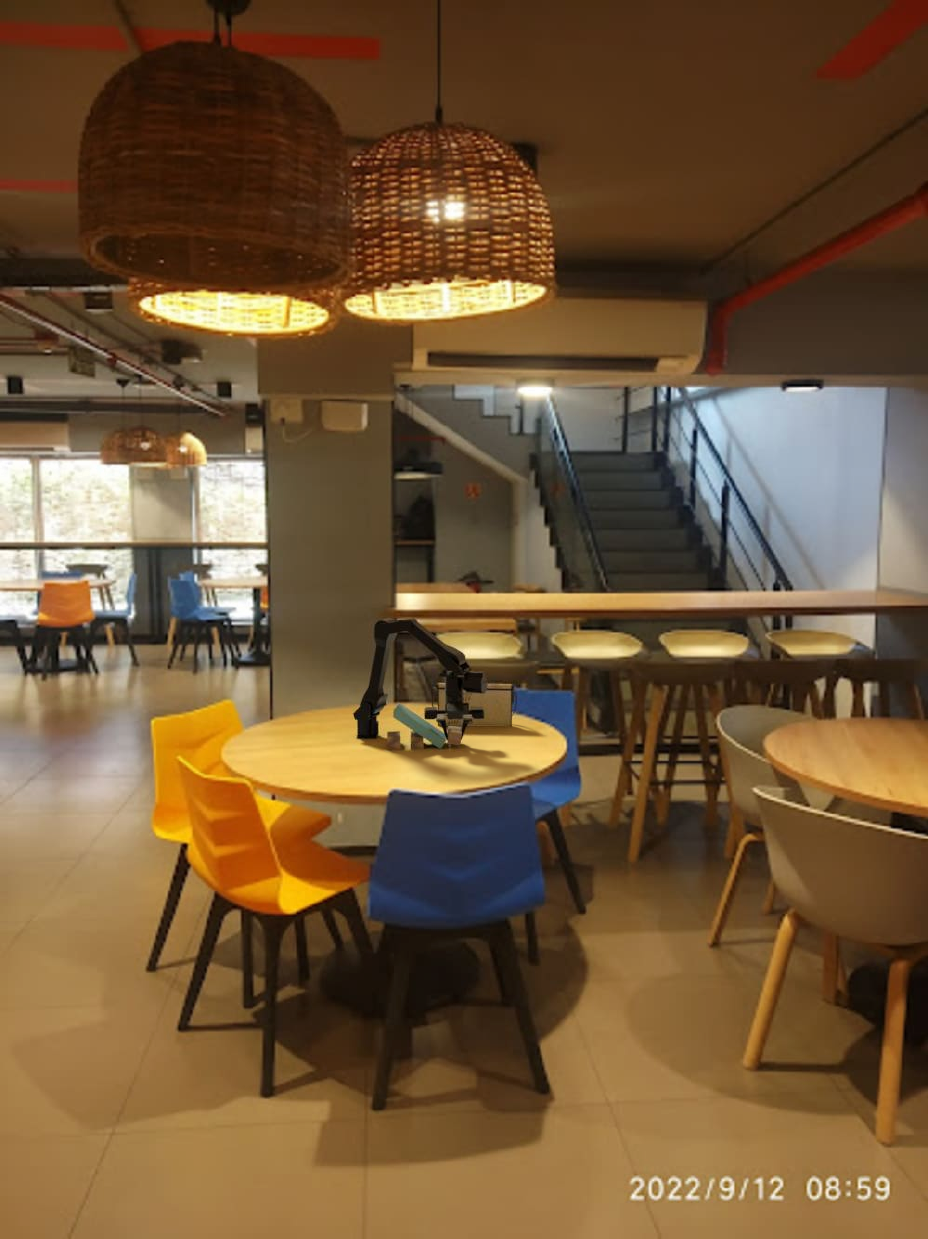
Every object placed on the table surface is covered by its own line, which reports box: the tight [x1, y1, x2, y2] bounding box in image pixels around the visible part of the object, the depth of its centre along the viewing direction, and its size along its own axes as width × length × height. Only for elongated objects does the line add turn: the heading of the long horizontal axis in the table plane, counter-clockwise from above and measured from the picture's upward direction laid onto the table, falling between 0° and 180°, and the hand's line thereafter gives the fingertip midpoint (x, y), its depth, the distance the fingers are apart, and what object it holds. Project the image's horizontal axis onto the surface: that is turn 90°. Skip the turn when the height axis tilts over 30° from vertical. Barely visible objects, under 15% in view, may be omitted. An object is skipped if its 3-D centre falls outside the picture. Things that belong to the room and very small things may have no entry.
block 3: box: [446, 725, 463, 746], centre depth 282 cm, size 8×4×4 cm, turn 3°
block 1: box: [386, 731, 401, 751], centre depth 281 cm, size 4×8×4 cm, turn 5°
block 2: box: [410, 730, 425, 750], centre depth 282 cm, size 4×8×4 cm, turn 3°
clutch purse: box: [431, 682, 518, 727], centre depth 309 cm, size 30×7×15 cm, turn 87°
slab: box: [392, 702, 447, 750], centre depth 282 cm, size 18×9×3 cm
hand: (454, 739), depth 282 cm, fingers closed on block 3, 4 cm apart
